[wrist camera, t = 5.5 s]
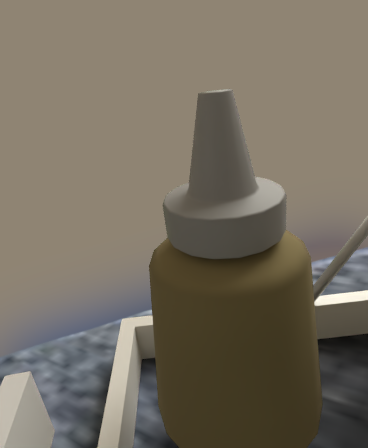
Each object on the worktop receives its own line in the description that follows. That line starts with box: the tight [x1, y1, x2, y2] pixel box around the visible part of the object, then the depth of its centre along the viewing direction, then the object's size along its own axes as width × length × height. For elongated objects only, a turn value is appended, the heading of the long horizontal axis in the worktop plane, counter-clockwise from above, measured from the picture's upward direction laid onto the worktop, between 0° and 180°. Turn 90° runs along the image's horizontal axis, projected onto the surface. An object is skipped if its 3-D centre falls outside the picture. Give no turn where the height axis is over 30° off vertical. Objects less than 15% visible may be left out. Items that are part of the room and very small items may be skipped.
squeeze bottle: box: [149, 89, 322, 448], centre depth 16 cm, size 8×8×18 cm
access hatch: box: [97, 216, 368, 448], centre depth 16 cm, size 20×15×17 cm
